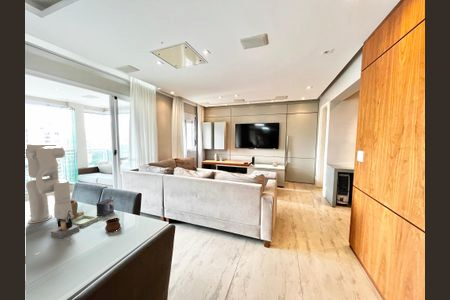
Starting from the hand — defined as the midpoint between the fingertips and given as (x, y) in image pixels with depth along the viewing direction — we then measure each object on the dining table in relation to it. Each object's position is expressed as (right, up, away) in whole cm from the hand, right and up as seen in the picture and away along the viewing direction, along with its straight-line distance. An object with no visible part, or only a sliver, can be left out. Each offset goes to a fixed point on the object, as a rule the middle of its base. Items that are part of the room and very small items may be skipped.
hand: (65, 226), depth 116 cm
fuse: (0, -4, 0) cm, 4 cm away
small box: (+7, -2, +30) cm, 30 cm away
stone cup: (-12, -3, +19) cm, 23 cm away
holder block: (0, -4, 0) cm, 4 cm away
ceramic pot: (+29, -4, +4) cm, 30 cm away
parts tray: (0, -3, +15) cm, 15 cm away
